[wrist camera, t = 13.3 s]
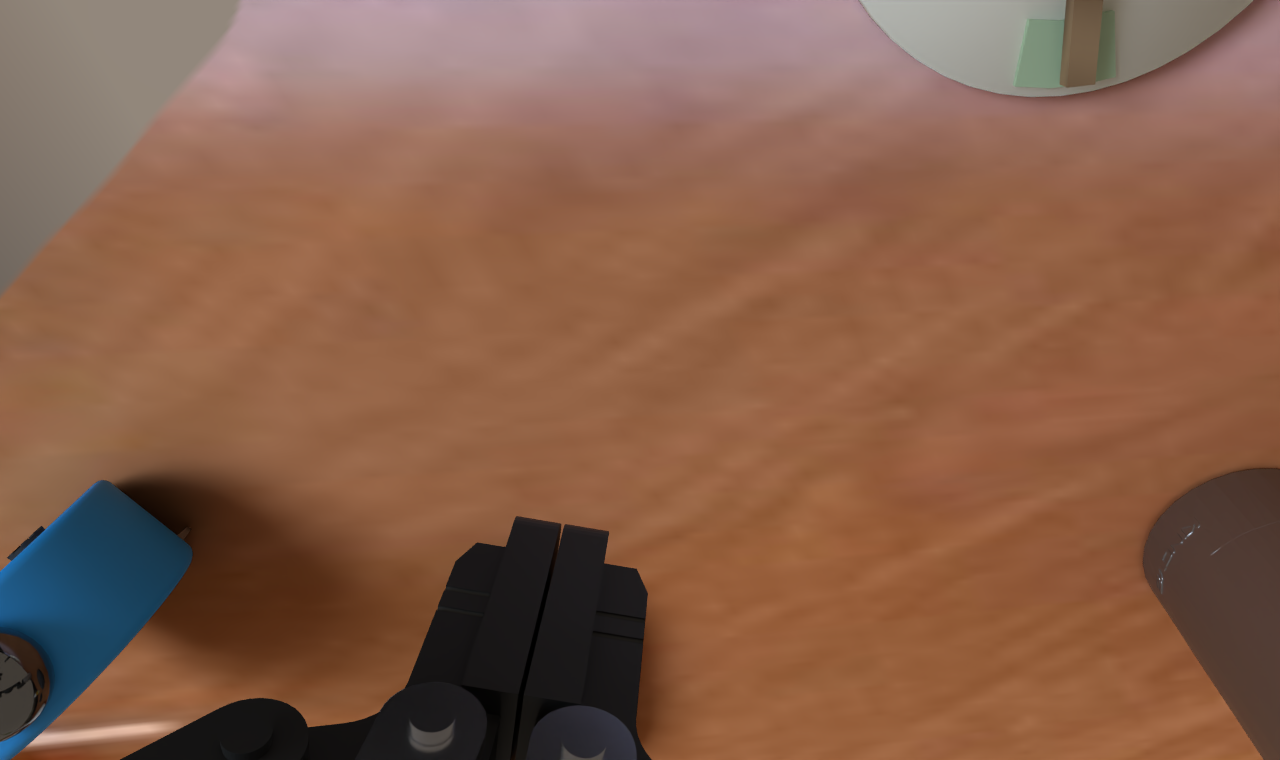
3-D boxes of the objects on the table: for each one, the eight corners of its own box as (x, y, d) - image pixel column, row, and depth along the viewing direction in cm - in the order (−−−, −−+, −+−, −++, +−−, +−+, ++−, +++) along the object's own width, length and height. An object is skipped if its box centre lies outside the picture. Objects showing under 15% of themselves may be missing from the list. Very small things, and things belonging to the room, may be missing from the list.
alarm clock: (101, 623, 53) (-103, 863, 39) (9, 556, 51) (-238, 785, 37) (238, 509, 48) (60, 737, 35) (143, 431, 46) (-84, 640, 33)
